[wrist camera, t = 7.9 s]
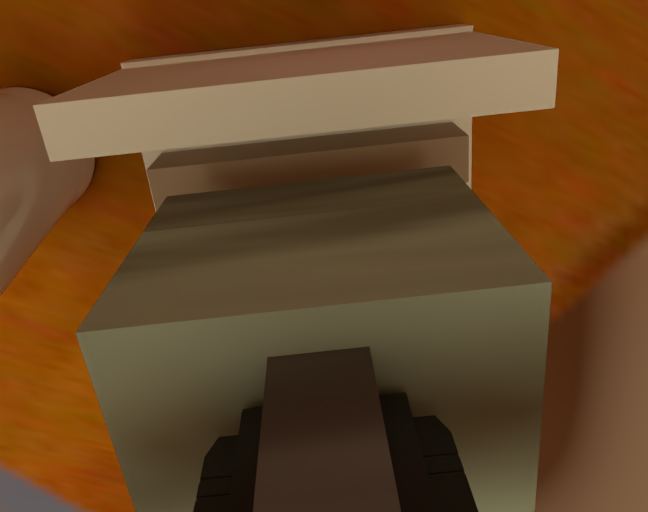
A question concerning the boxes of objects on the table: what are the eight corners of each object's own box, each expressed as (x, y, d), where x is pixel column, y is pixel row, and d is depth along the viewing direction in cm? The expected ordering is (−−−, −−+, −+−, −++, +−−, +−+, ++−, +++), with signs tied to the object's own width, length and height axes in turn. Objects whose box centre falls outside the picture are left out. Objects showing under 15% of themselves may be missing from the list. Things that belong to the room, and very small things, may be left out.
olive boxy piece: (166, 196, 18) (-92, 582, 6) (450, 165, 18) (739, 496, 6) (202, 353, 20) (69, 841, 9) (451, 327, 20) (657, 784, 9)
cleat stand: (131, 59, 23) (30, 97, 15) (462, 23, 23) (559, 40, 14) (183, 285, 28) (129, 418, 19) (462, 256, 27) (535, 376, 19)
